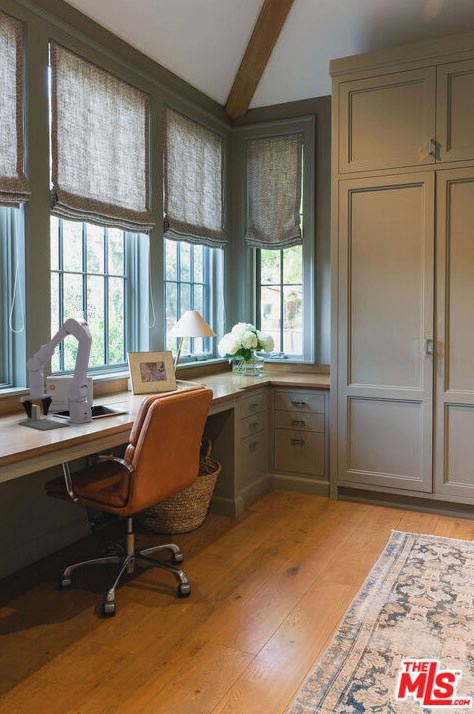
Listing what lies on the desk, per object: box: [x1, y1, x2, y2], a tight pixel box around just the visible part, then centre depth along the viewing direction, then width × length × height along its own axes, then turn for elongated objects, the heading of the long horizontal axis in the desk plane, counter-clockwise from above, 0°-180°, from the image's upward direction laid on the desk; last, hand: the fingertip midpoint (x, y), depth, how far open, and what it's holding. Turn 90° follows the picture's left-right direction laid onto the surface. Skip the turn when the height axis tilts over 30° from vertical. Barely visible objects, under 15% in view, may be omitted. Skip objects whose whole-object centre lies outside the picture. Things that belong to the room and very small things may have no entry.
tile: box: [28, 403, 41, 421], centre depth 263 cm, size 7×2×6 cm, turn 48°
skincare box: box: [46, 375, 94, 412], centre depth 287 cm, size 21×5×16 cm, turn 101°
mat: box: [17, 418, 71, 432], centre depth 249 cm, size 20×12×1 cm, turn 48°
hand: (37, 416), depth 261 cm, fingers open, 7 cm apart
